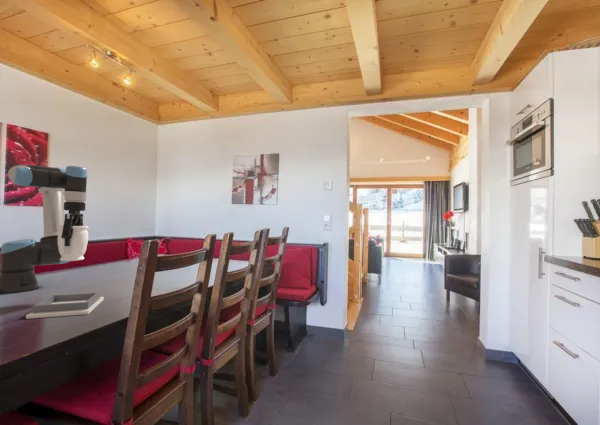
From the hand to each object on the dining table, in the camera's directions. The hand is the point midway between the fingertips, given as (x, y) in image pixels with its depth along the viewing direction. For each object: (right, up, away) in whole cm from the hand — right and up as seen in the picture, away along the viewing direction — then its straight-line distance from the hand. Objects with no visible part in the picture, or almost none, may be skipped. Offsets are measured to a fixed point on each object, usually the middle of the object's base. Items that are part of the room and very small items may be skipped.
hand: (72, 252), depth 127 cm
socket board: (+10, -20, -15) cm, 26 cm away
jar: (0, -3, 0) cm, 4 cm away
